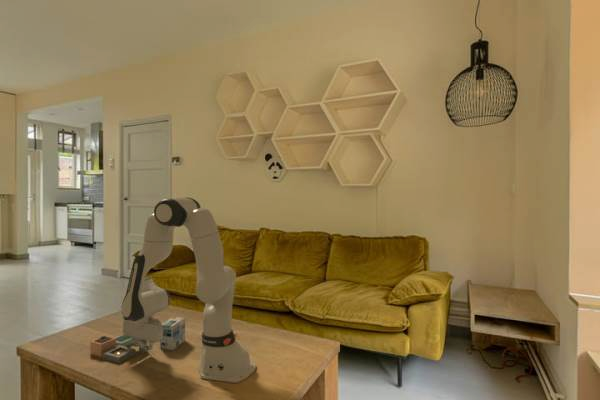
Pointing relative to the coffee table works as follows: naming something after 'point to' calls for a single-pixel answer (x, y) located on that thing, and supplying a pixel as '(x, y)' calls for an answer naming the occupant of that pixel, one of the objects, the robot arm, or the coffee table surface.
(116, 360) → the gray square frame
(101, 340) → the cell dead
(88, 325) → the coffee table surface
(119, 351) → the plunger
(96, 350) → the open cubby frame
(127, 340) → the trough
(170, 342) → the light bulb box
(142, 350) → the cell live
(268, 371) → the coffee table surface
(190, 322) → the coffee table surface
